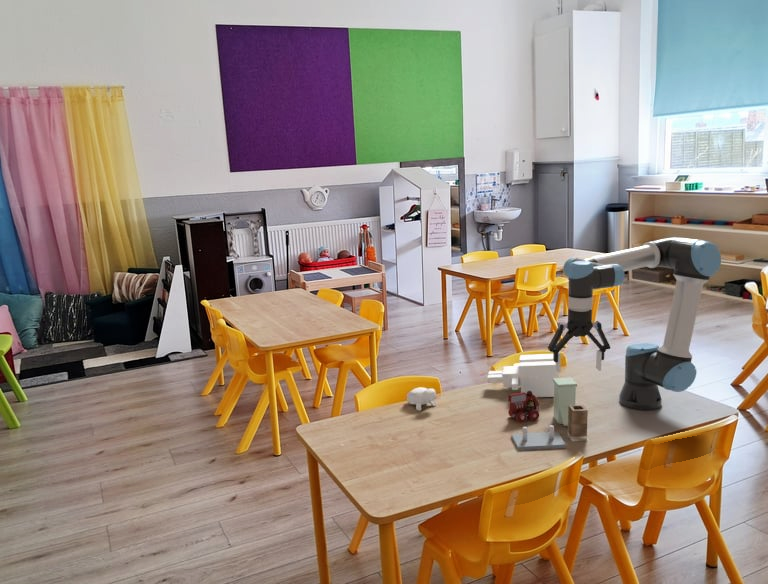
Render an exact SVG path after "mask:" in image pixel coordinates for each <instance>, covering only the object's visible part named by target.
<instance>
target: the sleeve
mask: <svg viewBox="0 0 768 584" xmlns="http://www.w3.org/2000/svg"><path fill="white" fill-rule="evenodd" d="M588 414H589V410H588V409H587V407H586V406H585V405H584V404H575V405H568V426H567V436H568V438H569V439H570V440H571V441H572V442H583V441H584V442H585V441H588V417H589V416H588Z"/></svg>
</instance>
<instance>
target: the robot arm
mask: <svg viewBox="0 0 768 584" xmlns="http://www.w3.org/2000/svg"><path fill="white" fill-rule="evenodd" d="M721 264H722V254H721V250H719V247H718V246H717V245H716V244H715V243H713V242H710V241H706V240H703V239H696V238H695V239H694V238H687V237H681V236H680V237H679V236H671V237H664V238H659V239H655V240H652V241H647V242H644V243H643V244H642V245H641V246H636V247H632V248H627V249H623V250H622V249H621V250H618V251H614V252H608V253H605V254H599V255H595V256H590V257H586V258H577V257H575V258H574V257H571V258H568V259H567V260H565V262H564V264H563V266H562V269H563V271H562V272H563V275H564V276H565V277H566V278H567V279H568V297H567V298H568V300H567V301H568V305H567V306H568V310H567V323H561V322H559V323H557V329H556V330H555V332H554V335H553V337H552V339H551V341H550V342H549V345H548V346H547V350H548V351H549V352H551V353H552V354H553V360H554V362H556V370H557V372H558V373H561V366H562V365H561V364H562V363H561V361H562V359H561V358H562V354H561V352H560V351H562V349H563V348H564V347H565V346H566V345H567V343H568V342H569V341H570V340H571V339H573V337H576V338H577V337H582V338H583V337H584V338H585V336H587V337H588V338H589V339H590V340H591V341H592V342H593V343H594V345H596V346H597V349H596V356H595V357H596V360H595V361H596V362H595V363H596V364H595V365H596V366H595V368H596V369H597V371H602V361H604V360H605V352H606V351H607V350H610V349H611V348H612V347H611V345H610V342H609V340H608V339H607V337H606V334H605V333H604V331H603V329H602V327H603V326H602V322H600V321H598V320H596V321H595V322H592V319H593V310H592V308H593V294H594V293H593V292H594V290H598V289H599V290H601V289H607V288H614V287H618V286H621V285H622V284H623V283H624V281H625V272H629V271H632V270H636V269H637V270H638V269H640V268H649V269H654V268H668V269H672V270H673V274H672V275H673V276H674V278H675V280H676V281H675V288H674V292H673V297H672V300H671V301H672V302H671V307H670V310H669V311H670V312H669V314H668V315H669V316H668V321H667V326H666V331H665V335H664V339H663V344H662V345H661V346H659V345H658V344H655V343H648V342H647V343H645V342H644V343H635V344H634V343H633V344H630V345H629V346H627V348H626V351H625V356H624V357H625V359H624V360H625V362H624V363H625V364H624V365H625V366H624V369H625V370H624V372H625V373H624V382H623V383H624V384H623V385H622V388H621V389H620V393H619V395H618V398H619V399H618V402H619V403H620V404H621V405H622V406H624V407H626V408H629V409H634V410H638V411H652V410H656V409H659V408H661V406H662V400H663V399H662V395H661V392H660V389H659V387H661V388H663V389H664V390H667V391H672V392H675V393H680V392H681V393H682V392H684V391H686V390H688V388H690V387H691V386H692V384H694V381H695V379H696V377H697V368H696V366H695V365H694V364H693V363H692V359H693V355H692V353H691V351H690V347H691V343H692V337H693V333H694V327H695V324H696V319H697V315H698V309H699V305H700V301H701V297H702V292H703V288H704V285H705V284H706V283H708V282H709V281H710V277H711V276H714V275H715V274H716V273H717V272H718V271H720V268H721ZM566 329H567V331H566V333H565V334H564V336H563V337H562V338H561V336H562V334H563V333H564V332H563V331H565V330H566ZM592 329H595V330H596V333H597V334H598V336H599V338H600V340H601V342H602V344H603V345H602V344H601V342H599V340H598V339H597V338H596V337H595V336H594V335H593V333H592V332H591V330H592ZM560 338H561V339H560Z"/></svg>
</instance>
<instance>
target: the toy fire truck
mask: <svg viewBox="0 0 768 584" xmlns="http://www.w3.org/2000/svg"><path fill="white" fill-rule="evenodd" d="M507 401H508V402H509V405H508V406H509V408H508V409H509V410H508V411H507V414H508V416H509V417H511V418H515V421H516V422H518V423H520V424H523V423H526V421H527V419H529V420H530V421H533V422H535V421H538V419H539V418H540V403H539V401H538V399H537V397H535V395H533V394H532V391H527V394H526V393H525V392H521V391H520V392H516V393H511V394H509V395H508V399H507Z"/></svg>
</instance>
